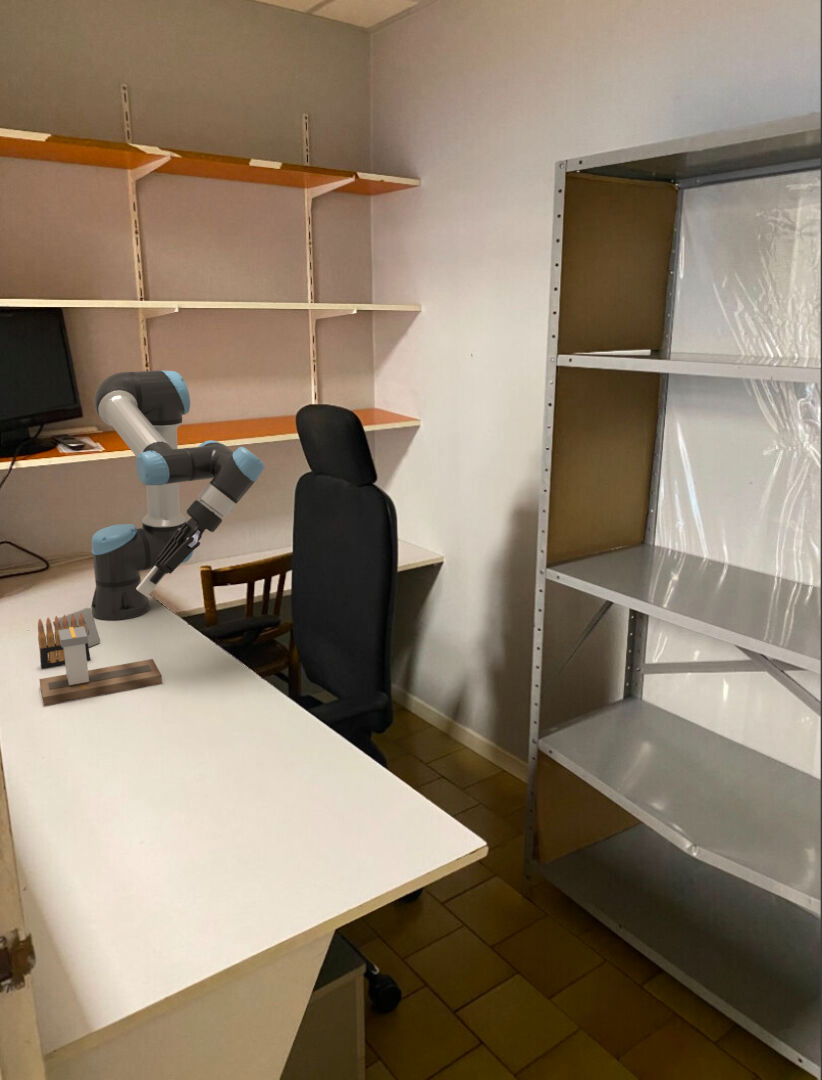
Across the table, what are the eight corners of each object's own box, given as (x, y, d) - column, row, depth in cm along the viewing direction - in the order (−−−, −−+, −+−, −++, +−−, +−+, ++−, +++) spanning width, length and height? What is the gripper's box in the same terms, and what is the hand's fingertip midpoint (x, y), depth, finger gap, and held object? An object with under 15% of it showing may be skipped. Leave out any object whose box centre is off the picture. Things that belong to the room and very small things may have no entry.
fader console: (153, 666, 190) (152, 658, 190) (162, 683, 182) (161, 674, 181) (40, 687, 180) (39, 678, 179) (44, 706, 171) (42, 696, 171)
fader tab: (88, 671, 182) (83, 625, 179) (92, 682, 176) (87, 635, 174) (63, 675, 180) (57, 629, 177) (66, 687, 174) (60, 639, 171)
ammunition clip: (41, 669, 189) (35, 620, 186) (40, 666, 191) (34, 618, 188) (90, 660, 194) (85, 612, 191) (89, 658, 196) (84, 610, 193)
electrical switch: (70, 656, 196) (63, 619, 194) (55, 654, 199) (48, 617, 197) (101, 643, 204) (95, 607, 202) (87, 641, 207) (80, 606, 205)
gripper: (230, 525, 179) (160, 611, 177) (216, 512, 191) (150, 593, 188) (203, 504, 176) (131, 592, 173) (190, 493, 187) (123, 574, 185)
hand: (141, 592), depth 181 cm, fingers closed
